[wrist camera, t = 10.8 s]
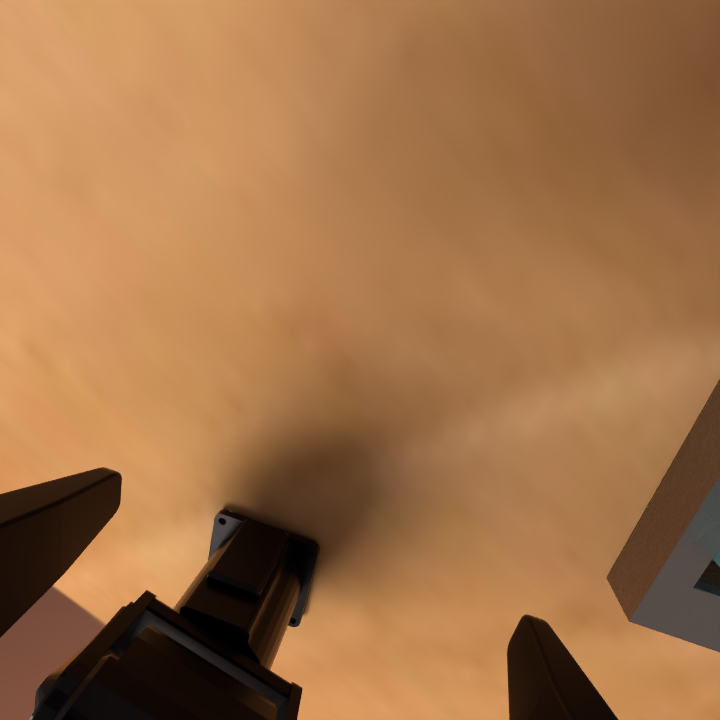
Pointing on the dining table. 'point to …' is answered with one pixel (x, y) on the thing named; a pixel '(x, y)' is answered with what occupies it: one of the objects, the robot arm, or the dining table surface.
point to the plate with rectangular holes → (679, 544)
